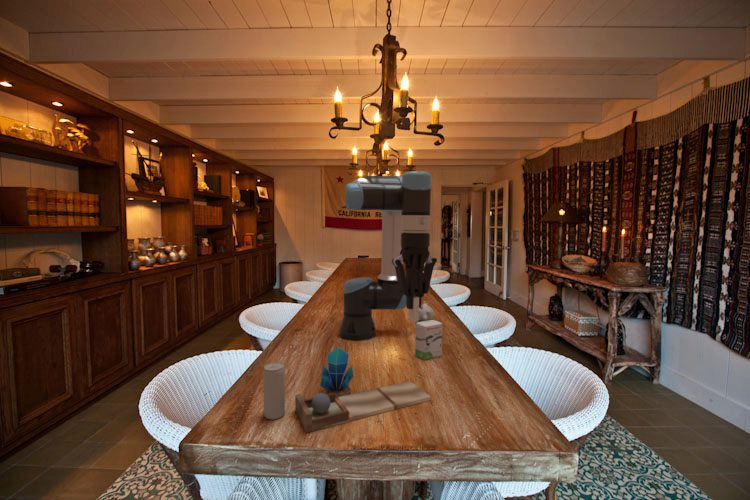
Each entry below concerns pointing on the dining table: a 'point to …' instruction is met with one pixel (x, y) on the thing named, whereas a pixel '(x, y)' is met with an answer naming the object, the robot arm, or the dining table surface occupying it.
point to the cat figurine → (425, 312)
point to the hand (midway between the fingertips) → (413, 320)
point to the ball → (320, 403)
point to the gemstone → (337, 374)
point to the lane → (358, 405)
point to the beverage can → (274, 390)
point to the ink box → (428, 339)
